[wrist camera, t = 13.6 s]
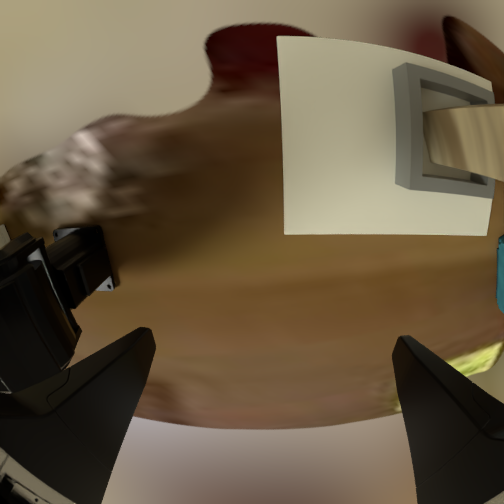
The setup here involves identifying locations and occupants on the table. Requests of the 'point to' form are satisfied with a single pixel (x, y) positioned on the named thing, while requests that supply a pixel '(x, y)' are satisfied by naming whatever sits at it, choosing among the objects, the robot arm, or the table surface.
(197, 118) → the table surface
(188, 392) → the table surface
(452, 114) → the birch post
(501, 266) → the handheld gaming console
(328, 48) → the pocket board
